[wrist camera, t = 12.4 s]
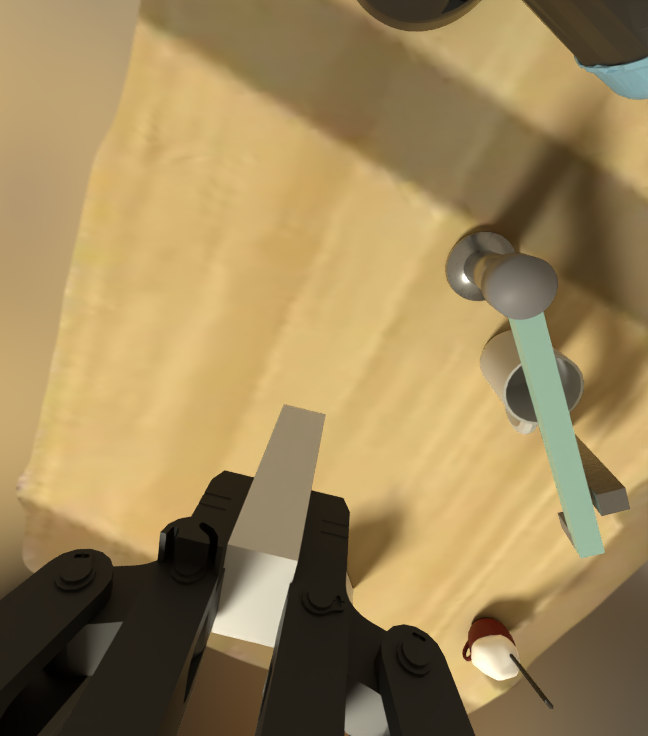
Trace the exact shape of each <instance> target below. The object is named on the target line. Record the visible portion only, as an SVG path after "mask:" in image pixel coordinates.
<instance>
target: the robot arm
mask: <svg viewBox="0 0 648 736" xmlns="http://www.w3.org/2000/svg"><path fill="white" fill-rule="evenodd" d="M357 1H358V2H359V3H360V5H361V6H362V7H363V8H364V9H365V10H366V11H367V12H368V13H369V14H370V15H372V16H373V17H374V18H376V19H377V20H379V21H380V22H382V23H384V24H386V25H388V26H390V27H393V28H396V29H400V30H405V31H428V30H433V29H436V28H440V27H443V26H445V25H448V24H450V23H452V22H454V21H456V20H457V19H459V18H461V17H462V16H464V15H465V14H466V13H468V12H469V11H470V10H471V9H473V8H474V7H475V6H476V5H477V4H478V3H479V2H480V1H481V0H357ZM522 1H523V2H524V3H525V4H526V5H527V6H528V7H529V8H530V9H531V11H532V12H533V13H534V14H535V15H536V16H537V17H538V18H539V19H540V20H541V21H542V22H543V23H544V24H545V25H546V26H547V27H548V28H549V29H550V30H551V31H552V33H553V34H554V35H555V36H556V37H557V38H558V39H559V40H560V41H561V42H562V43H563V44H564V45H565V46H566V47H567V48H568V49H569V50H570V51H571V52H572V53H573V54H574V58H575V61H576V62H577V64H578V65H579V66H580V67H581V68H584V69H585V70H586V71H587V72H591V73H594V74H595V75H596V76H597V77H598V78H599V79H601V80H602V81H603V82H604V83H605V84H606V85H607V86H608V87H609V88H610V89H611V90H613V91H614V92H615V93H616V94H618V95H620V96H623V97H626V98H628V99H635V100H641V99H648V0H522ZM325 415H326V414H322V413H318V412H314V411H310V410H306V409H301V408H297V407H293V406H289V405H285V404H284V405H283V408H282V410H281V413H280V415H279V418H278V420H277V423H276V425H275V428H274V430H273V433H272V435H271V438H270V440H269V443H268V445H267V448H266V450H265V453H264V455H263V457H262V460H261V462H260V465H259V467H258V470H257V472H256V475H255V477H250V476H246V475H242V474H237V473H233V472H229V471H223V472H222V473H220V474H219V475H217V476H216V477H215V478H213V479H212V480H211V482H210V484H209V485H208V487H207V489H206V491H205V493H204V495H203V496H202V498H201V500H200V502H199V505H197V507H196V509H195V511H194V513H193V514H192V516H191V517H186V518H181V519H178V520H176V521H174V522H172V523H170V524H168V525H167V526H166V527H165V528H164V529H163V530H162V531H161V532H160V542H159V552H158V560H157V561H154V562H151V563H148V564H143V565H136V566H113V565H112V562H111V559H110V558H109V557H108V556H106V555H105V554H104V553H103V552H100V551H96V550H93V549H77V550H73V551H70V552H67V553H63V554H61V555H60V556H58V557H56V558H55V559H53V560H51V561H50V562H48V563H47V564H46V565H44V566H43V567H42V568H41V569H39V570H38V571H37V572H36V573H34V574H33V575H32V576H31V577H29V578H28V579H27V580H25V581H24V582H23V583H22V584H20V585H19V586H18V587H17V588H15V589H14V590H13V591H11V592H10V593H9V594H8V595H6V596H5V597H4V598H3V599H1V600H0V736H51V735H52V734H53V732H54V731H55V730H56V729H57V728H58V727H59V725H60V724H61V723H62V721H64V719H65V718H66V717H67V716H68V714H69V713H70V712H71V711H72V712H71V714H70V716H69V717H68V719H67V721H66V723H65V724H64V726H63V728H62V730H61V732H60V733H59V735H58V736H177V733H178V730H179V728H180V725H181V722H182V719H183V716H184V713H185V711H186V708H187V705H188V702H189V699H190V696H191V693H192V691H193V688H194V685H195V682H196V679H197V676H198V673H199V670H200V668H201V665H202V662H203V659H204V655H205V650H206V644H207V640H208V638H209V635H210V632H211V629H212V627H213V629H212V632H213V633H217V634H221V635H225V636H229V637H233V638H237V639H242V640H246V641H250V642H254V643H258V644H262V645H266V646H270V647H274V650H273V655H272V659H271V663H270V667H269V670H268V674H267V678H266V682H265V686H264V689H263V693H262V694H263V698H262V703H261V708H260V713H259V717H258V722H257V727H256V732H255V736H344V732H347V733H348V734H349V736H475V734H474V731H473V729H472V726H471V724H470V721H469V719H468V716H467V713H466V711H465V708H464V705H463V703H462V700H461V698H460V695H459V693H458V690H457V687H456V685H455V682H454V680H453V677H452V674H451V672H450V669H449V667H448V664H447V662H446V659H445V656H444V655H443V653H442V651H441V649H440V648H439V646H438V644H437V643H436V642H435V641H434V640H433V639H432V638H431V637H430V636H429V635H428V634H427V633H425V632H424V631H422V630H420V629H418V628H417V627H414V626H409V625H404V624H403V625H398V626H393V627H392V628H391V629H389V630H388V631H385V630H384V629H382V628H380V627H378V626H377V625H375V624H373V623H372V622H370V621H369V620H367V619H366V618H364V617H363V616H362V615H361V614H360V613H359V612H358V611H357V610H356V609H355V608H354V606H353V605H352V603H351V602H350V600H349V597H348V594H347V590H346V574H347V555H348V535H349V529H348V528H349V516H350V512H349V509H348V507H347V505H346V503H345V501H344V498H341V497H337V496H333V495H328V494H324V493H320V492H316V491H312V490H311V489H312V483H313V478H314V473H315V468H316V462H317V457H318V452H319V446H320V441H321V436H322V430H323V425H324V420H325Z"/></svg>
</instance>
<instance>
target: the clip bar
mask: <svg viewBox="0 0 648 736" xmlns="http://www.w3.org/2000/svg"><path fill="white" fill-rule="evenodd" d="M557 287H558V280H557V276H556V273H555V271H554V269H553V268H552V266H551V265H550V264H549V263H547V262H546V261H544V260H542V259H540V258H537V257H533V256H530V255H527V254H523V253H517V252H514V253H507V254H504V255H501V256H499V257H498V258H496V259H495V260H493V261H492V262H491V263H490V264H489V265H488V267H487V268H486V270H485V271H484V274H483V276H482V280H481V290H482V294H483V297H484V298H485V300H486V301H487V302H488V303H489V304H490V305H491V306H492V307H494V308H495V309H496V310H497V311H499V312H500V313H501V314H503V315H504V316H506V317H508V318H509V322H510V326H511V329H512V333H513V336H514V340H515V343H516V347H517V350H518V354H519V357H520V361H521V364H522V368H523V371H524V375H525V378H526V382H527V386H528V389H529V393H530V396H531V400H532V403H533V407H534V410H535V414H536V417H537V421H538V424H539V428H540V431H541V435H542V438H543V442H544V445H545V449H546V453H547V456H548V460H549V463H550V467H551V470H552V474H553V477H554V481H555V484H556V488H557V491H558V495H559V498H560V502H561V505H562V509H563V512H560V513H558V516H559V519H560V523H561V526H562V529H563V530H564V532H565V533H566V535H567V537H568V538H569V540H570V541H571V543H572V545H573V546H574V548H575V549H576V551H577V553H578V554H579V556H580V557H581V558H585V557H589V556H593V555H598V554H602V553H605V551H604V547H603V543H602V540H601V536H600V532H599V528H598V524H597V520H596V516H595V512H594V508H593V504H592V500H591V496H590V493H589V489H588V485H587V481H586V477H585V473H584V469H583V465H582V461H581V457H580V453H579V450H578V446H577V442H576V438H575V434H574V430H573V426H572V422H571V418H570V414H569V410H568V406H567V403H566V399H565V395H564V391H563V387H562V383H561V379H560V375H559V371H558V367H557V363H556V360H555V356H554V352H553V348H552V344H551V340H550V336H549V332H548V328H547V324H546V320H545V316H544V313H543V311H545V310H546V309H547V308H548V307H549V305H550V304H551V303H552V301H553V300H554V298H555V295H556V292H557Z"/></svg>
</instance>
